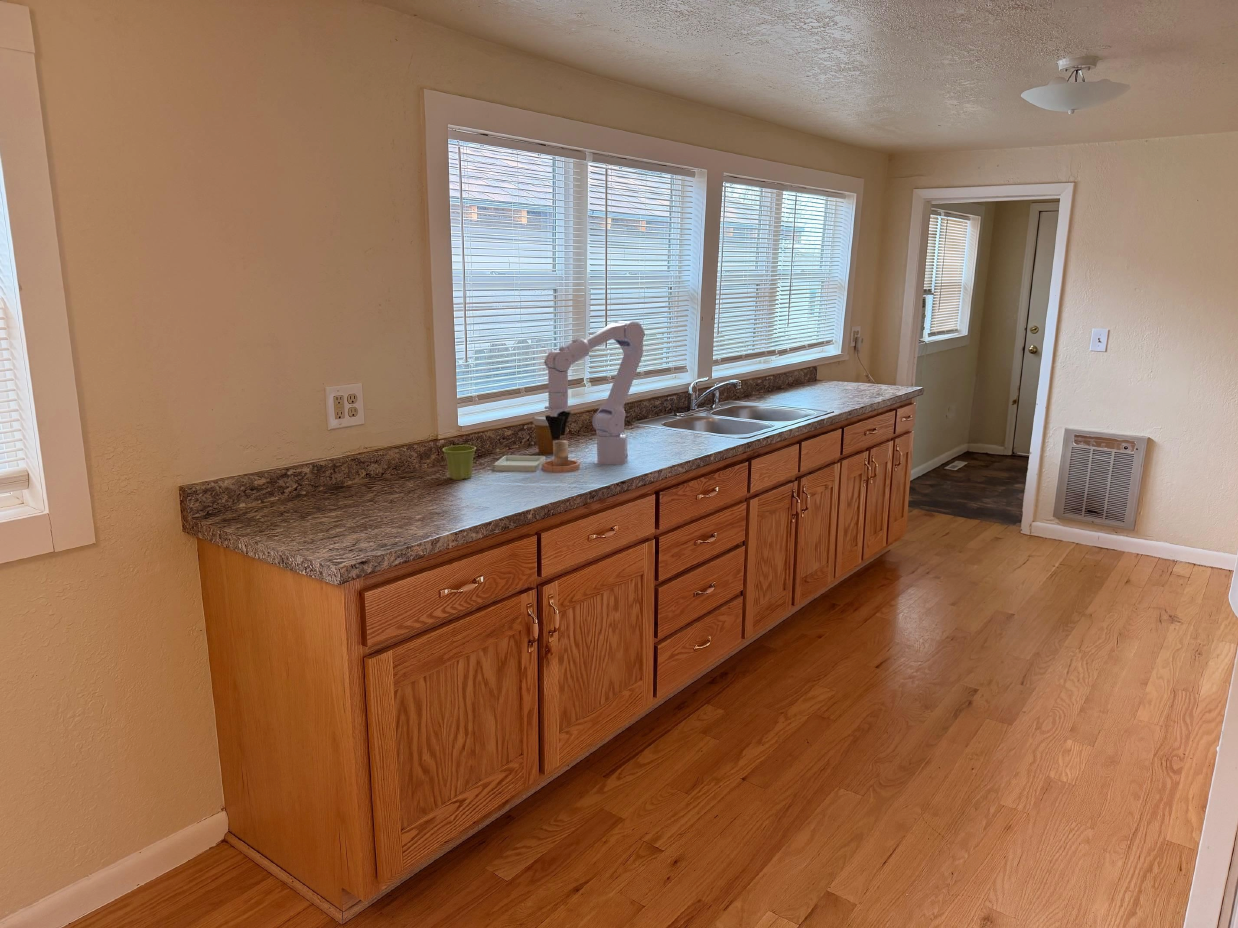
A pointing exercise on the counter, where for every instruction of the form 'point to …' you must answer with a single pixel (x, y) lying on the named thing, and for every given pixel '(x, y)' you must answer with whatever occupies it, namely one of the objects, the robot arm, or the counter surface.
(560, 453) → the birch cylinder
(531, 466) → the grey green tray
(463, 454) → the plant pot
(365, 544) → the counter surface
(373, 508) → the counter surface
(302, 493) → the counter surface
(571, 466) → the terracotta dish
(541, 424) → the disposable coffee cup
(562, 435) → the robot arm
